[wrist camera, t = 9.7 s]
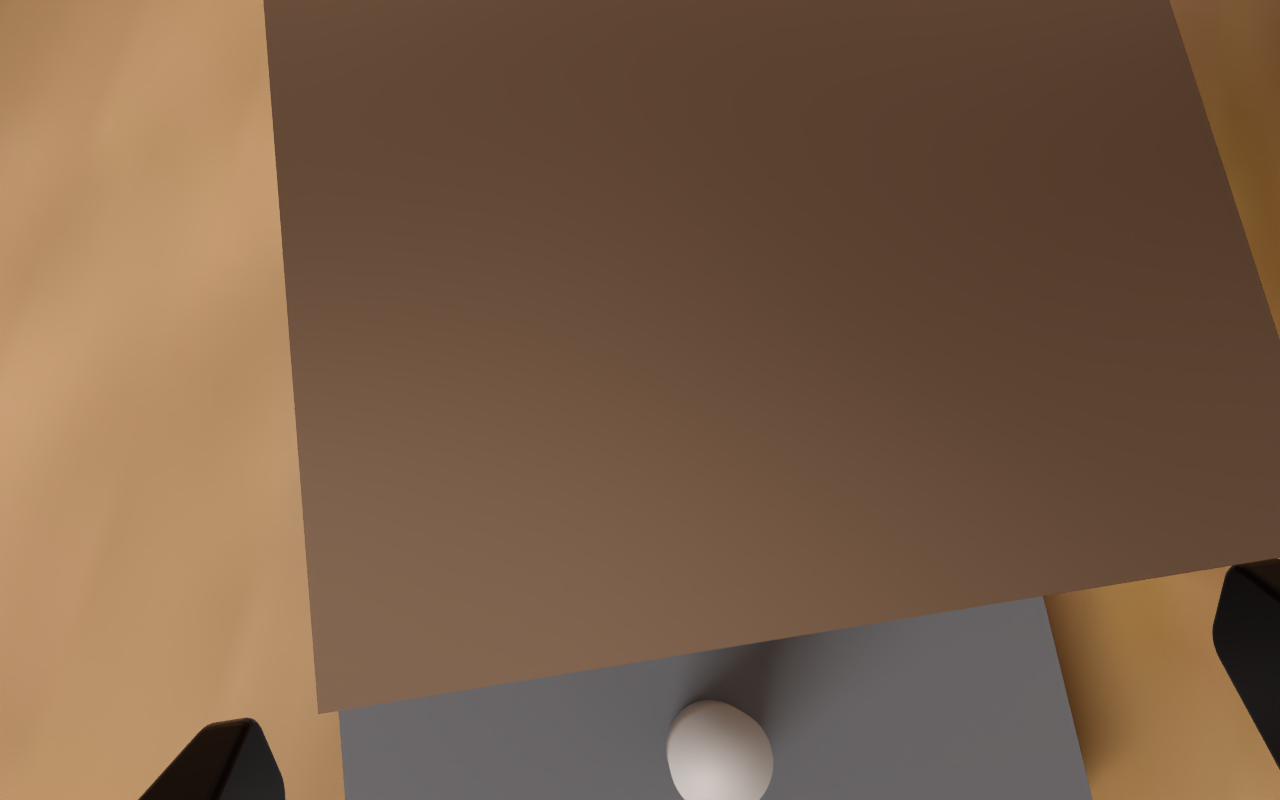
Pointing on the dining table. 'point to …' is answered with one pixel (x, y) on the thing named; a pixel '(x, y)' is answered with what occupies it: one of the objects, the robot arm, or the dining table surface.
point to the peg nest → (752, 723)
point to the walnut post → (749, 323)
